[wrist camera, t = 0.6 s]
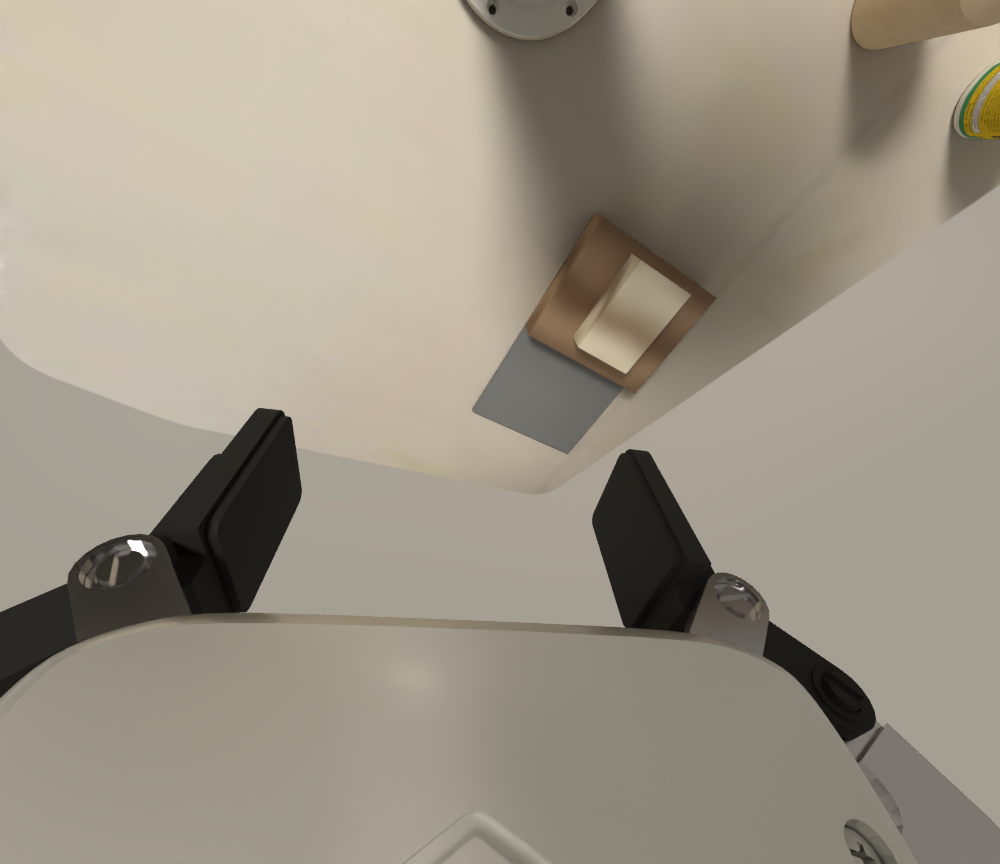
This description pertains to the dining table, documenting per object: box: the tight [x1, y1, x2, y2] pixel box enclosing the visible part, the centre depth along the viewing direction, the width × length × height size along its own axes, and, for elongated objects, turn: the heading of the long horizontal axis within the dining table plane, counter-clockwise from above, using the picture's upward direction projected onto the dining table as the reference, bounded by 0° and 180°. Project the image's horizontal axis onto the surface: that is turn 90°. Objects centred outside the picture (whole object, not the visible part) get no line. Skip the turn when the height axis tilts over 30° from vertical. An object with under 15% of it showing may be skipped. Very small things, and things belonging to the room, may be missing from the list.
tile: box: [573, 254, 691, 374], centre depth 39 cm, size 9×6×2 cm, turn 150°
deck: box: [526, 213, 716, 393], centre depth 41 cm, size 12×14×3 cm
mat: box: [472, 324, 623, 454], centre depth 48 cm, size 12×14×1 cm
